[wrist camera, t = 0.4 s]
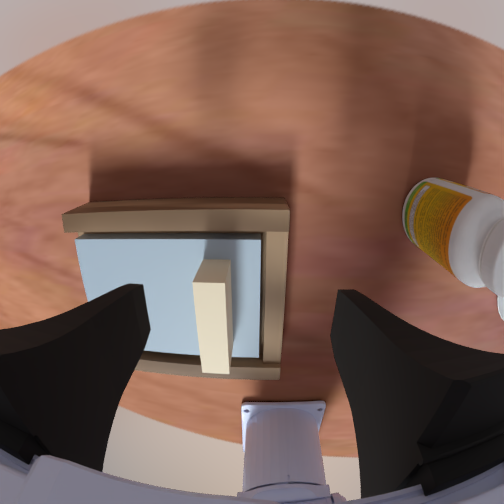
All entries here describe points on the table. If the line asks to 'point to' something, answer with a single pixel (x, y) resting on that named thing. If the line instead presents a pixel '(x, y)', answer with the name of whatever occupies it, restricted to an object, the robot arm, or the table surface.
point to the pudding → (501, 306)
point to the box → (207, 221)
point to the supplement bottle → (458, 230)
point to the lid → (185, 288)
